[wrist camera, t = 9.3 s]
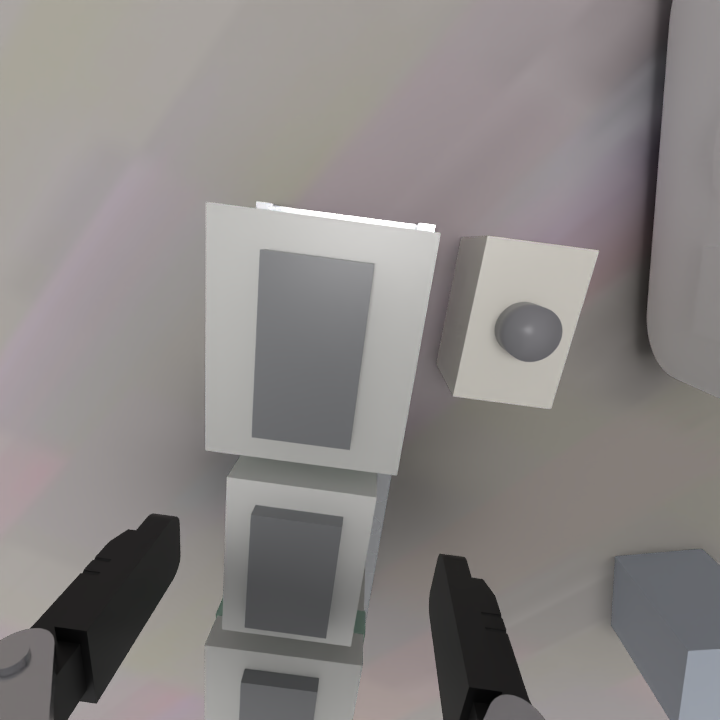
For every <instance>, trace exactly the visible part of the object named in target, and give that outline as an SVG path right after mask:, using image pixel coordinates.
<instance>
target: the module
mask: <svg viewBox="0 0 720 720" xmlns="http://www.w3.org/2000/svg"><path fill="white" fill-rule="evenodd" d="M376 499H377V473H373V472H365V471H358V470H350V469H343V468H335V467H327V466H320V465H312V464H304V463H297V462H289V461H281V460H274V459H266V458H259V457H251V456H243V455H240V457H239V459H238V460H237V462H236V463H235V465H234V467H233V468H232V470H231V471H230V473H229V474H228V476H227V488H226V520H225V553H224V585H223V617H222V629H223V630H231V631H238V632H245V633H253V634H260V635H268V636H275V637H283V638H290V639H297V640H305V641H312V642H320V643H327V644H334V645H342V646H349V647H351V643H352V637H353V631H354V626H355V620H356V614H357V608H358V603H359V597H360V591H361V585H362V580H363V574H364V568H365V562H366V557H367V551H368V545H369V539H370V534H371V528H372V522H373V516H374V510H375V505H376Z"/></svg>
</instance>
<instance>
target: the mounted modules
mask: <svg viewBox="0 0 720 720" xmlns="http://www.w3.org/2000/svg"><path fill="white" fill-rule="evenodd" d="M440 235H441V233H438V232H432V231H424V230H417V229H409V228H402V227H394V226H387V225H379V224H371V223H364V222H356V221H349V220H341V219H334V218H326V217H319V216H311V215H303V214H296V213H288V212H281V211H273V210H266V209H258V208H251V207H243V206H236V205H228V204H219V203H211V202H206V354H205V451H213V452H220V453H228V454H236V455H243V456H251V457H259V458H266V459H274V460H281V461H289V462H297V463H304V464H312V465H320V466H327V467H335V468H343V469H350V470H358V471H365V472H373V473H381V474H388V475H396V476H397V473H398V467H399V462H400V456H401V450H402V445H403V439H404V434H405V428H406V423H407V417H408V412H409V406H410V401H411V395H412V390H413V384H414V379H415V373H416V368H417V362H418V356H419V351H420V345H421V340H422V334H423V329H424V323H425V318H426V312H427V307H428V301H429V296H430V290H431V285H432V279H433V274H434V268H435V263H436V257H437V251H438V246H439V240H440ZM364 596H365V568H364V574H363V580H362V585H361V591H360V597H359V603H358V608H357V614H356V620H355V626H354V631H353V637H352V643H351V647H349V646H342V645H334V644H327V643H320V642H312V641H305V640H297V639H290V638H283V637H275V636H268V635H260V634H253V633H245V632H238V631H231V630H223V629H222V617H223V599H222V601H221V603H220V606H219V608H218V610H217V613H216V620H215V622H214V625H213V627H212V629H211V632H210V634H209V636H208V639H207V641H206V643H205V720H353V716H354V710H355V705H356V699H357V694H358V688H359V683H360V677H361V672H362V666H363V642H364V637H365V616H366V611H364Z"/></svg>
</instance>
